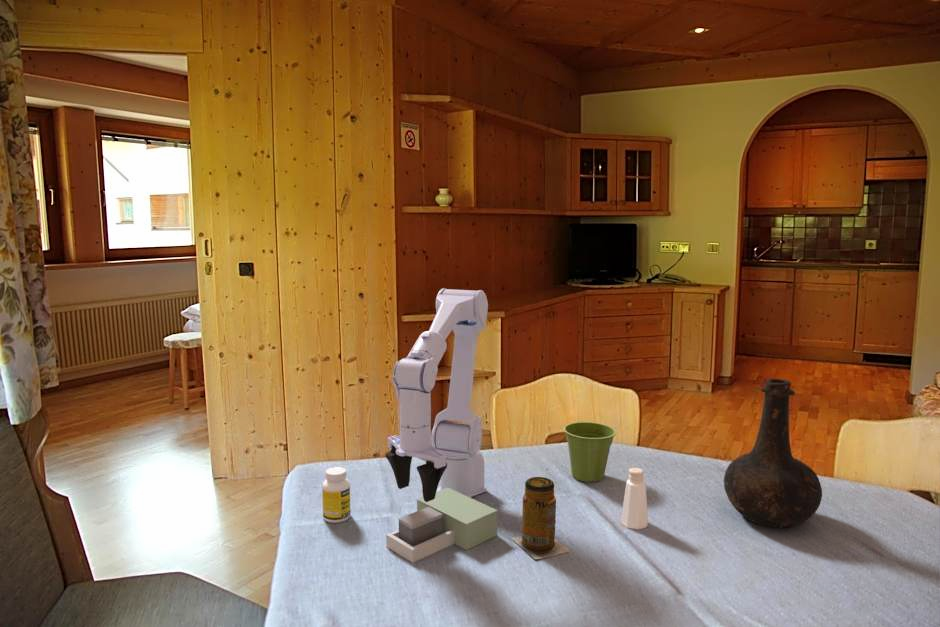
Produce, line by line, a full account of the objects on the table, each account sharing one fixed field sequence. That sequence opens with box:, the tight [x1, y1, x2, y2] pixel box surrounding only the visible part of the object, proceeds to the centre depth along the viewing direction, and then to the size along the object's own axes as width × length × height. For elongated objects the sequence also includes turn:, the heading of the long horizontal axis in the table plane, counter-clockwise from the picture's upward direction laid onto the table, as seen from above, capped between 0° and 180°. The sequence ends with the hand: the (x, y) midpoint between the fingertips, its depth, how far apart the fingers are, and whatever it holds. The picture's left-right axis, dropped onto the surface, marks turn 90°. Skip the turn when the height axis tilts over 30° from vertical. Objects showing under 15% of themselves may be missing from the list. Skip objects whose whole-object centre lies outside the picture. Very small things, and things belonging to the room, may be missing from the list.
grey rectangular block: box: [398, 507, 443, 547], centre depth 122 cm, size 7×4×5 cm, turn 133°
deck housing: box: [385, 488, 498, 564], centre depth 124 cm, size 18×14×5 cm
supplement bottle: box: [321, 466, 351, 524], centre depth 132 cm, size 5×5×10 cm
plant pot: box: [562, 421, 617, 483], centre depth 152 cm, size 12×12×11 cm
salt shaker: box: [620, 467, 649, 530], centre depth 130 cm, size 5×5×11 cm
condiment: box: [511, 476, 570, 560], centre depth 121 cm, size 7×8×12 cm
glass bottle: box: [723, 378, 823, 528], centre depth 131 cm, size 18×18×28 cm
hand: (416, 493), depth 124 cm, fingers open, 7 cm apart
